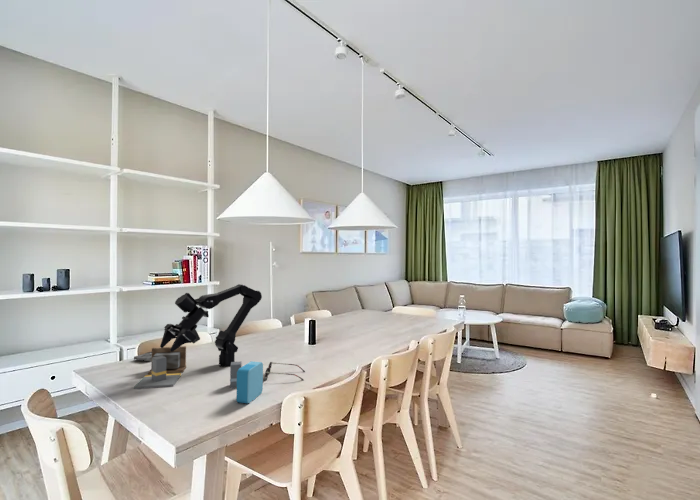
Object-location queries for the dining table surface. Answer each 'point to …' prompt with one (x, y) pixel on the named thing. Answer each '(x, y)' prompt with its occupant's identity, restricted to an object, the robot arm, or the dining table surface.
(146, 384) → the pad
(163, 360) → the block
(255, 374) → the blue flat block
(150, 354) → the graphics card
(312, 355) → the dining table surface
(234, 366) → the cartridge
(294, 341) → the dining table surface
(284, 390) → the dining table surface
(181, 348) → the mounted unit
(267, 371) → the sunglasses
